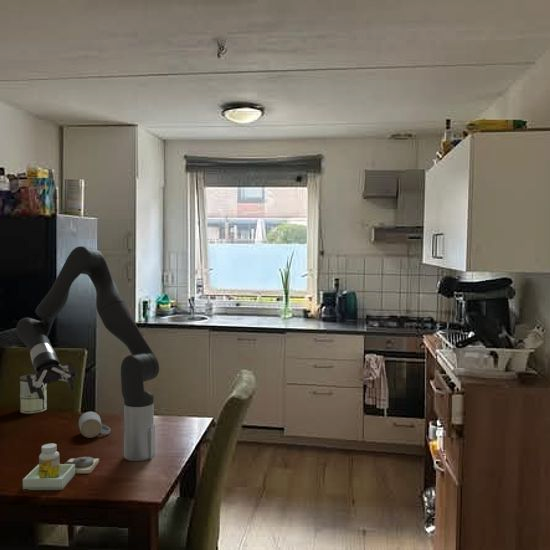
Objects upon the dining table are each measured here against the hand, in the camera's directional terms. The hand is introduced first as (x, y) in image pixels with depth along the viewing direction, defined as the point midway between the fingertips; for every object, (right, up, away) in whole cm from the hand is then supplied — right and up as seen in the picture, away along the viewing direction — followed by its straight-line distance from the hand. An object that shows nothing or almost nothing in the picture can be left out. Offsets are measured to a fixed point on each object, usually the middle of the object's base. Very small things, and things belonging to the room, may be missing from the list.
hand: (57, 393), depth 168 cm
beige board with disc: (+8, -22, -2) cm, 23 cm away
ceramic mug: (+2, -21, +28) cm, 35 cm away
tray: (+3, -22, -13) cm, 26 cm away
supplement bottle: (+3, -22, -13) cm, 26 cm away
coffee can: (-33, -20, +57) cm, 69 cm away
